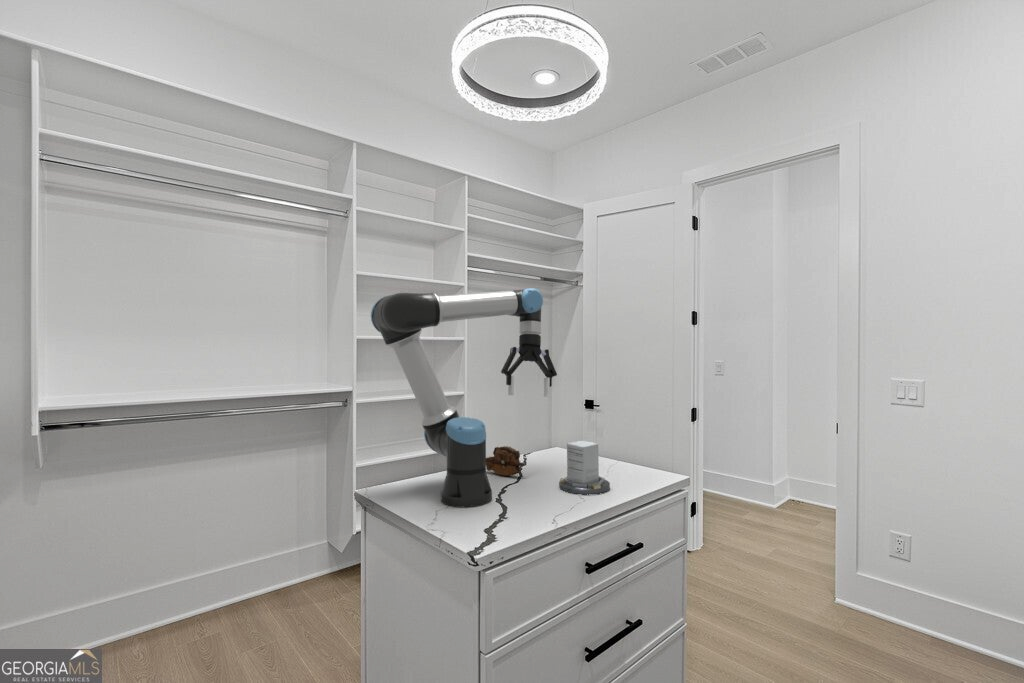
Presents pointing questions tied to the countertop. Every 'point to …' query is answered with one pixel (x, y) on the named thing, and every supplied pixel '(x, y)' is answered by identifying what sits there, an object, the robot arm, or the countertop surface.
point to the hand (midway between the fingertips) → (529, 395)
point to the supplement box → (582, 462)
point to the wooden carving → (504, 461)
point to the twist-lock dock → (584, 486)
